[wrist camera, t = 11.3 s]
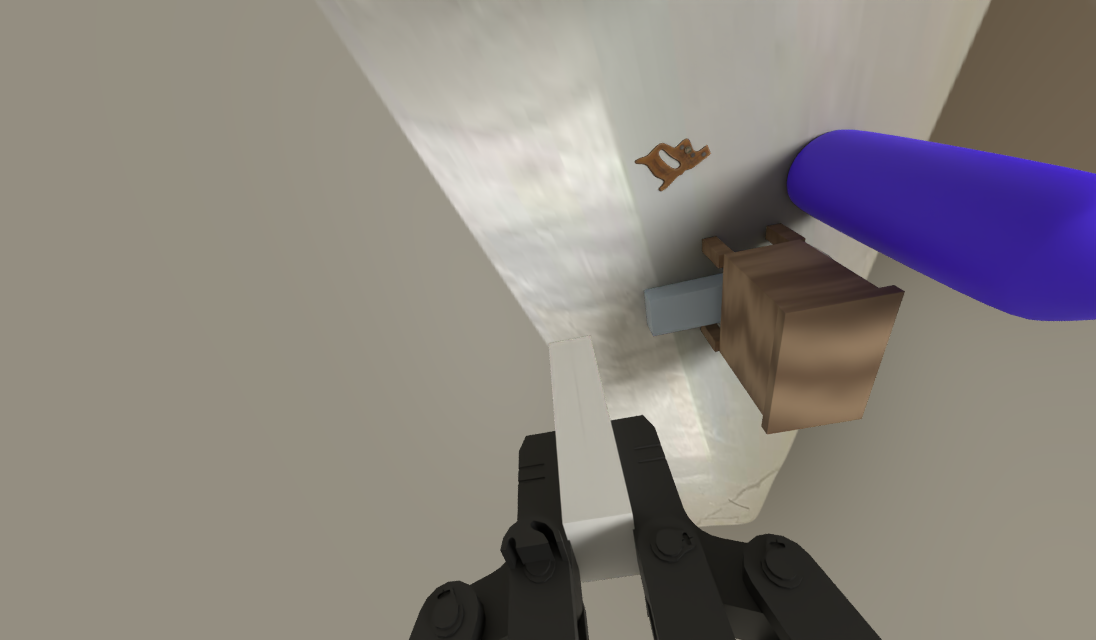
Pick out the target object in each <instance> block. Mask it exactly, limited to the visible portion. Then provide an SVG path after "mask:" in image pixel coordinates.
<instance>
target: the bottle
mask: <svg viewBox="0 0 1096 640" xmlns="http://www.w3.org/2000/svg"><path fill="white" fill-rule="evenodd" d="M787 191H788V195H789V197H790V199H791V200H792V202H793V203H794V204H795V205H796V206H798V207H799V208H800V209H801V210H803V211H804V212H806V213H808V214H809V215H811V216H813V217H814V218H816V219H818V220H820V221H822V222H823V223H825V224H827V225H829V226H831V227H833V228H834V229H836V230H838V231H840V232H842V233H844V234H846V235H848V236H850V237H852V238H853V239H855V240H857V241H859V242H861V243H863V244H865V245H867V246H869V247H871V248H873V249H875V250H876V251H878V252H880V253H882V254H884V255H886V256H888V257H890V258H892V259H894V260H896V261H898V262H900V263H902V264H904V265H906V266H908V267H910V268H912V269H914V270H916V271H918V272H920V273H922V274H924V275H926V276H928V277H930V278H932V279H934V280H936V281H938V282H940V283H942V284H944V285H946V286H948V287H950V288H952V289H954V290H956V291H958V292H961V293H963V294H965V295H967V296H969V297H971V298H973V299H976V300H978V301H980V302H982V303H984V304H986V305H989V306H991V307H994V308H996V309H999V310H1001V311H1003V312H1006V313H1009V314H1011V315H1015V316H1019V317H1022V318H1026V319H1031V320H1041V321H1074V320H1076V321H1077V320H1095V319H1096V174H1094V173H1089V172H1085V171H1081V170H1076V169H1072V168H1067V167H1062V166H1057V165H1051V164H1046V163H1041V162H1036V161H1031V160H1026V159H1021V158H1016V157H1011V156H1005V155H1000V154H995V153H989V152H984V151H978V150H973V149H967V148H962V147H957V146H951V145H945V144H940V143H934V142H928V141H923V140H917V139H911V138H905V137H900V136H893V135H887V134H881V133H874V132H867V131H859V130H835V131H831V132H828V133H825V134H823V135H821V136H819V137H817V138H816V139H814V140H813V141H811V142H810V143H809V144H808V145H806V146H805V147H804V148H803V149H802V150H801V152H800V153H799V154H798V155H797V157H796V158H795V160H794V161H793V163H792V165H791V168H790V170H789V173H788V178H787Z"/></svg>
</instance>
